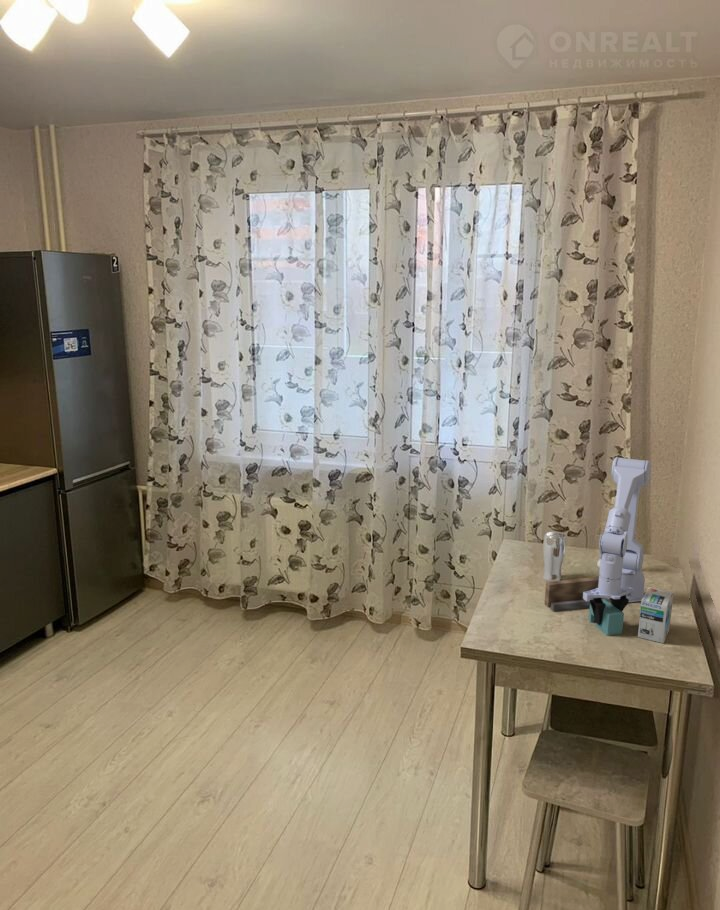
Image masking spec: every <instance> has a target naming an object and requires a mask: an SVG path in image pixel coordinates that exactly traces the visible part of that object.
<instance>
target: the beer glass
mask: <svg viewBox="0 0 720 910" xmlns="http://www.w3.org/2000/svg"><path fill="white" fill-rule="evenodd" d="M566 536H567V535H566V534H565V533H563V532H561V531H555V530H554V531H553V530H552V531H546V532H545V533H544V537H543V543H542V555H543V564H544V566H543V567H544V569H543V573H542V577H541V578H542V580H544V581H546V582H554V581H563V578H562V566H563V562H564V558H565V554H566V549H567V547H566V546H567V543H566V542H567V541H566V538H567V537H566Z"/></svg>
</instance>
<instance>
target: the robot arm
mask: <svg viewBox="0 0 720 910" xmlns="http://www.w3.org/2000/svg"><path fill="white" fill-rule="evenodd" d="M651 463H652V462H651V461H650V460H644V459H643V460H642V459H634V458H633V459H632V458H625V457H620V456H616V457H615V458H614V459H613V461H612V464H611V465H612V466H611V477H612V478H613V482H614V483H615V484H616V485H617V486H616V493H615V494H616V495H615V496H616V501H615V507H614V506H613V507H612V508H611V509H610V510H608V515H607V518H606V519H607V520H606V524H605V528H604V533H603V532H602V533H601V535H600V538H599V545H598V549H599V560H600V559H601V560H600V568H599V573H598V577H599V583H598V588H596V589H593V590H590V591H587V592H583V599H584V600H585V601H589V602H590V604H591V607H592V610H593V614H594V619H595V622H594V623H595V624H596V623H597V624H598V625H601V623H602V616H603V611H604V608H605V606H606V604H605V603H603V600H602V599H603V598H608V599H610V601H611V602H610V604H612V605H613V606H615V607H616V608H617V609H619V610H620V611H622V612H623V611H624V609H625V608H626V607H627V605H628V604H629V603H635V602H636V603H637V602H641V600H642V598H643V596H644V592H645V591H644V590H645V574H644V572H643V571H642V569H643V565H644V564H643V563H644V546H643V545H642V544H641V542H639V541H638V540H636V538H635V537H636V529H637V518H638V510H639V509H638V508H639V500H640V492H641V490H642V487H648V486H649V484H650V480H651V471H652V464H651Z"/></svg>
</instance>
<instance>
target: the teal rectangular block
mask: <svg viewBox="0 0 720 910" xmlns="http://www.w3.org/2000/svg"><path fill="white" fill-rule="evenodd" d="M603 603H605V604H606V606H605V608H604V611H603V616H602V623H601V625H598V624H597V623H596V622H595V619H594V614H593V610H592V607H591V604H590V608H589V612H588V622H590V623H595V627H596V628H597V629H598V630H600V631H601V632H602V633H604V634H605V635H606V636H614V635H622V634H623V628H624V618H625V613H624V612H623V611H620V610H619V609H617V608H616V607H615V606H613V605H612V604H611V602H610V601H609V602H608V601H606V600H605V599H603Z"/></svg>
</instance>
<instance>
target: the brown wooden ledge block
mask: <svg viewBox="0 0 720 910" xmlns="http://www.w3.org/2000/svg"><path fill="white" fill-rule="evenodd" d="M598 583H599V576H595V577H585V578H574V579H566V580H561V581H554V582H548V581H546V582H545V594H544V605H545V606H546V607H547V608H550V611H552V612H555V613H556V612H561V611H563V612H564V611H571V610H581V609H588V608H589V609H590V602H589V601H585V600H584V599H583V592H587V591H590V590H593V589H596V588H598ZM603 599H605V600H606V601H608V602H609V603H610V600H609V599H610V598H603ZM603 599H602V600H603Z"/></svg>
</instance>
